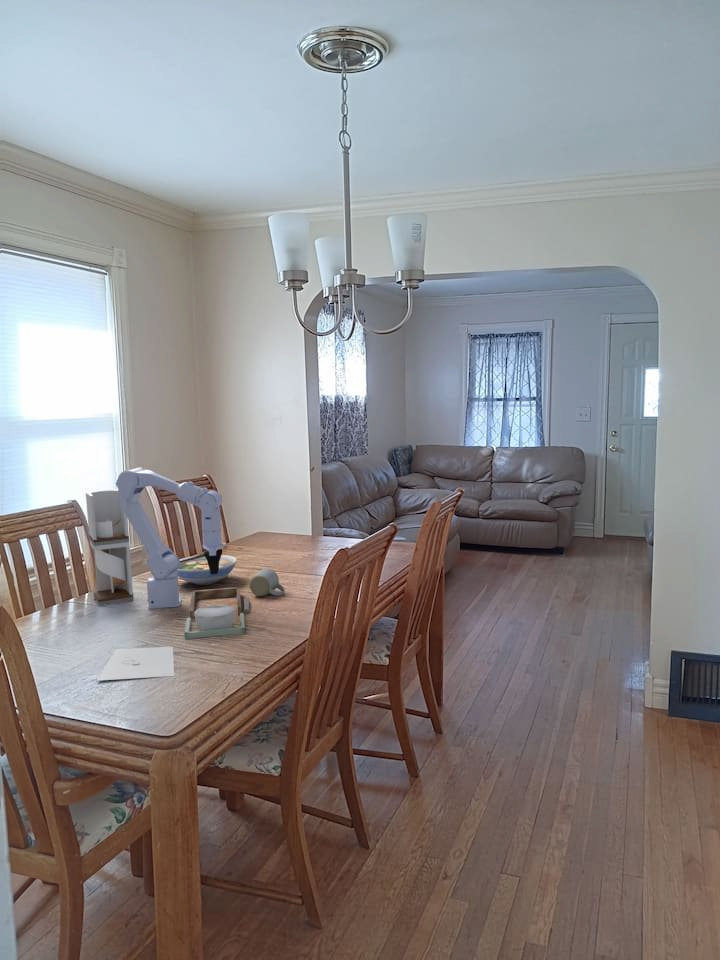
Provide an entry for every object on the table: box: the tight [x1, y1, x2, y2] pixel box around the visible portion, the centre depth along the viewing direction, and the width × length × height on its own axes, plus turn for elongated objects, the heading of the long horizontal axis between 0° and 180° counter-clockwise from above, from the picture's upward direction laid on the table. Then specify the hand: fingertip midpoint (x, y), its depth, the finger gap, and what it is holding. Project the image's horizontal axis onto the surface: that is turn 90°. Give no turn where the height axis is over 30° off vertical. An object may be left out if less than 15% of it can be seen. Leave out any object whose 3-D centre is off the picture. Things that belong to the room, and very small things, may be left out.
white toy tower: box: [85, 488, 134, 606], centre depth 233 cm, size 11×11×35 cm
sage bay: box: [184, 612, 246, 640], centre depth 202 cm, size 16×14×2 cm
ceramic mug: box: [249, 567, 285, 597], centre depth 234 cm, size 11×8×8 cm
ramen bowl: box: [177, 553, 238, 586], centre depth 252 cm, size 25×23×8 cm
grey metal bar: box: [243, 597, 250, 614], centre depth 221 cm, size 1×12×1 cm, turn 9°
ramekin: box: [194, 604, 236, 631], centre depth 202 cm, size 11×11×5 cm
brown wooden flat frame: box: [188, 586, 243, 620], centre depth 223 cm, size 15×23×2 cm, turn 11°
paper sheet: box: [97, 646, 175, 682], centre depth 178 cm, size 24×29×1 cm
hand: (214, 573), depth 223 cm, fingers closed
